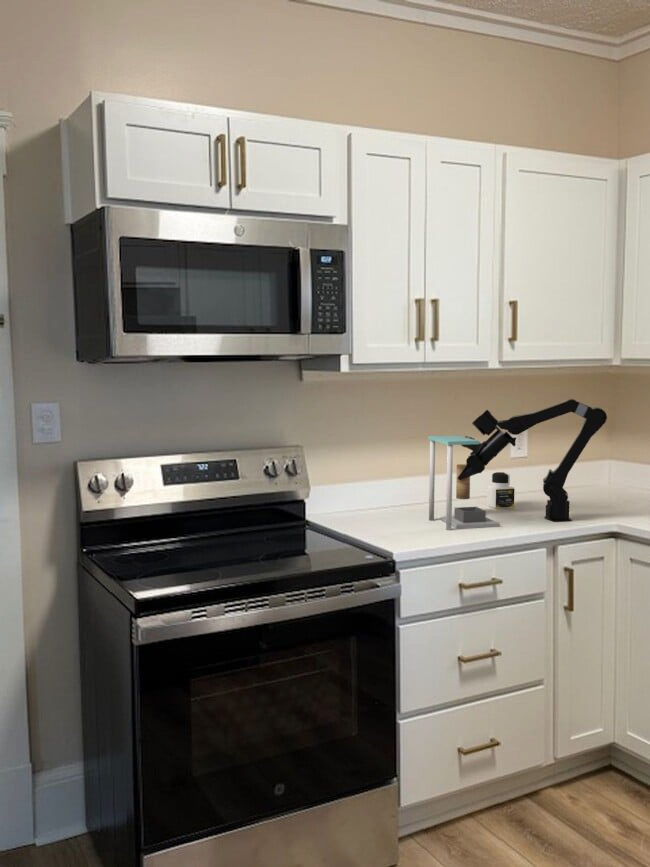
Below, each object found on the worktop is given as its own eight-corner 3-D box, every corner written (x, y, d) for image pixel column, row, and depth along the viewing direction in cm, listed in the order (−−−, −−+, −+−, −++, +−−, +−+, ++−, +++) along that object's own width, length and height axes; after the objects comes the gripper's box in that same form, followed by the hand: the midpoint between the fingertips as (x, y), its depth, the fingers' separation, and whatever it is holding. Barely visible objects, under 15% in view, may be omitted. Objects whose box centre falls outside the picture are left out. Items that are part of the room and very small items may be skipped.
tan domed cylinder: (466, 496, 289) (467, 464, 288) (471, 498, 285) (472, 465, 284) (454, 497, 288) (454, 464, 287) (459, 499, 284) (459, 466, 283)
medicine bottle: (495, 509, 299) (496, 474, 298) (486, 505, 306) (487, 471, 305) (514, 508, 301) (515, 473, 300) (504, 504, 308) (505, 471, 307)
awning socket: (479, 517, 284) (480, 435, 281) (501, 527, 267) (503, 440, 265) (427, 519, 280) (428, 436, 277) (446, 530, 263) (448, 441, 261)
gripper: (477, 425, 293) (444, 457, 296) (474, 430, 275) (438, 464, 278) (501, 449, 292) (467, 480, 295) (499, 455, 274) (463, 489, 277)
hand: (459, 478), depth 286 cm, fingers closed on tan domed cylinder, 4 cm apart
